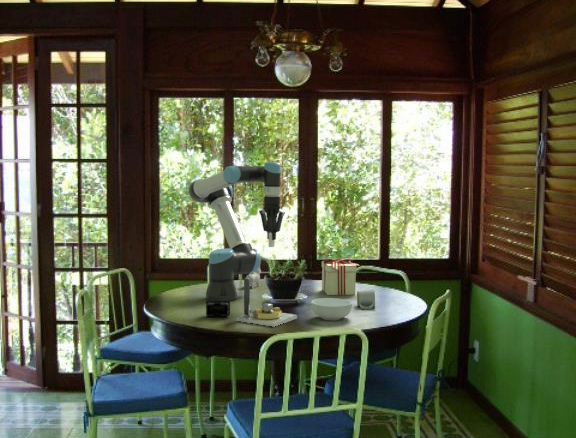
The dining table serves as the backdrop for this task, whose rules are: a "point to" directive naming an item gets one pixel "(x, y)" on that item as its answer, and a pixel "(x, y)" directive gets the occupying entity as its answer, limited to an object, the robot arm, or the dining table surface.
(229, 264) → the robot arm
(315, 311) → the cereal bowl
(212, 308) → the end cap
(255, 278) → the dog figurine
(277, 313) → the gold and grey piece
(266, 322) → the housing
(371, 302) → the ceramic mug
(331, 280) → the gift box
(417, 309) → the dining table surface
